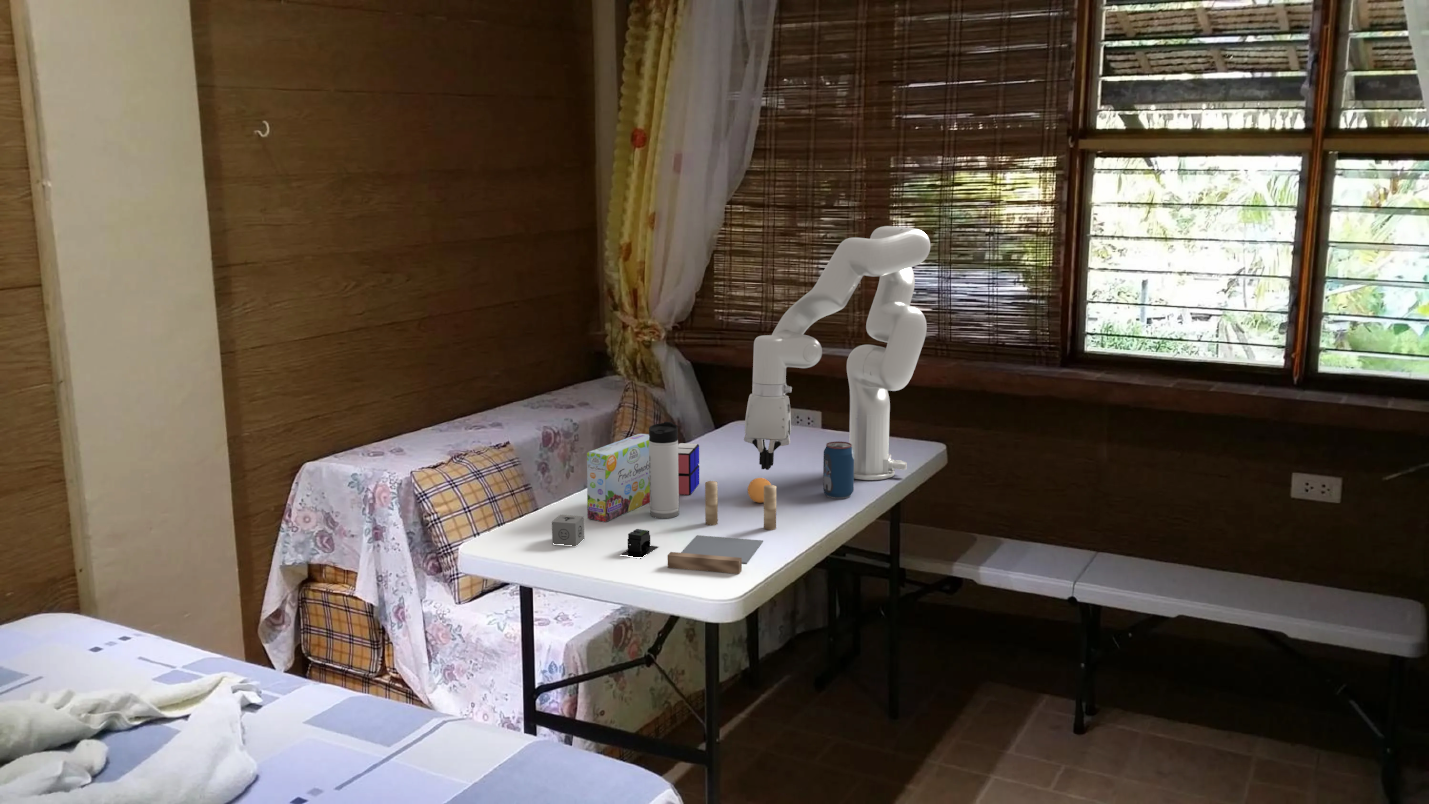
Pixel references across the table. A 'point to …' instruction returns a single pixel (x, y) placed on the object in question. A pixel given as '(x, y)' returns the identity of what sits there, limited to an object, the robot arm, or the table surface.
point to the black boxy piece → (639, 543)
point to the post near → (769, 507)
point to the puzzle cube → (688, 468)
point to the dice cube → (568, 530)
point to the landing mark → (723, 547)
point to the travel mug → (663, 470)
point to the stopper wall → (704, 562)
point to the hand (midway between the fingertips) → (766, 468)
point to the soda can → (838, 470)
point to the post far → (711, 503)
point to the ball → (757, 489)
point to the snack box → (618, 478)
